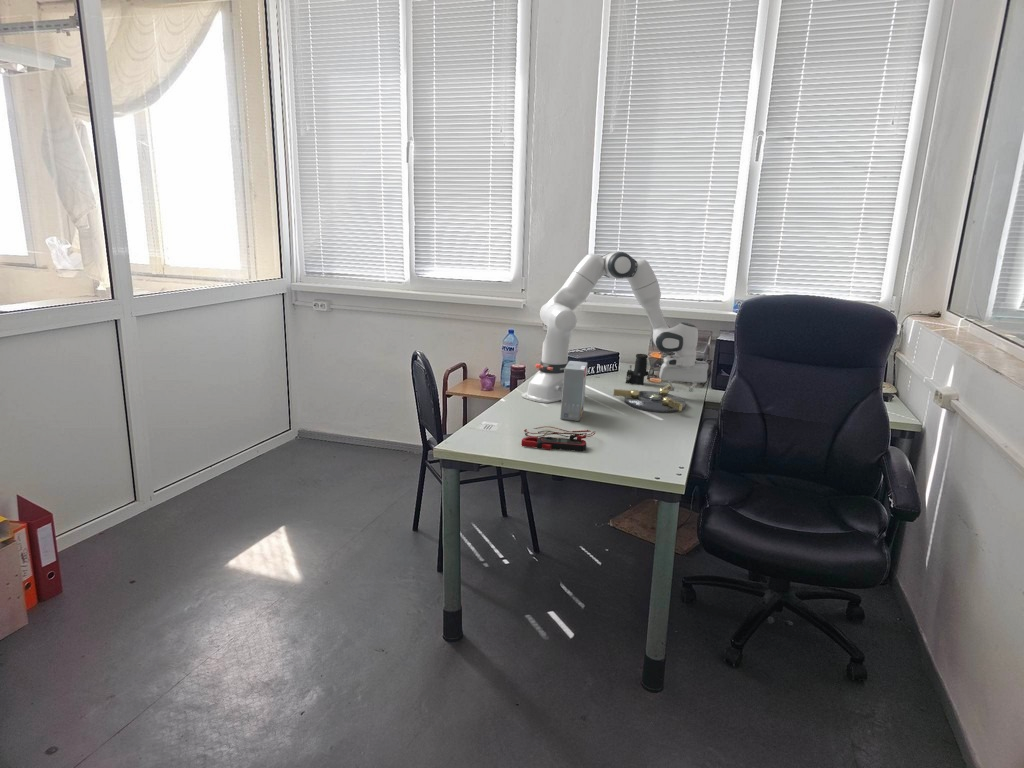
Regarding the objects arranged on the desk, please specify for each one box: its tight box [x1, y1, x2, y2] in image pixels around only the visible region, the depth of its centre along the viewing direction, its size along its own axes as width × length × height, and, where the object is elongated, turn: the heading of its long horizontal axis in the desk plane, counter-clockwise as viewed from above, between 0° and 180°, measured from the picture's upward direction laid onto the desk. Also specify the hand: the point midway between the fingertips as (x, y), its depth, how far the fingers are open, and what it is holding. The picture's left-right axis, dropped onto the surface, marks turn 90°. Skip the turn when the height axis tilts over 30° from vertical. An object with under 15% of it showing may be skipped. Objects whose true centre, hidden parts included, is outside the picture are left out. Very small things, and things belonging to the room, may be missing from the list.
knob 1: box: [612, 388, 640, 398], centre depth 268 cm, size 11×4×3 cm, turn 83°
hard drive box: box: [559, 360, 588, 422], centre depth 245 cm, size 16×8×20 cm, turn 168°
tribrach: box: [624, 390, 686, 414], centre depth 267 cm, size 25×25×4 cm
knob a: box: [658, 383, 671, 396], centre depth 276 cm, size 11×4×3 cm, turn 150°
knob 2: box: [663, 397, 683, 412], centre depth 256 cm, size 11×4×3 cm, turn 23°
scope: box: [625, 353, 650, 386], centre depth 298 cm, size 8×14×10 cm
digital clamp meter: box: [520, 426, 596, 452], centre depth 219 cm, size 23×4×25 cm
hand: (681, 391), depth 278 cm, fingers open, 7 cm apart
